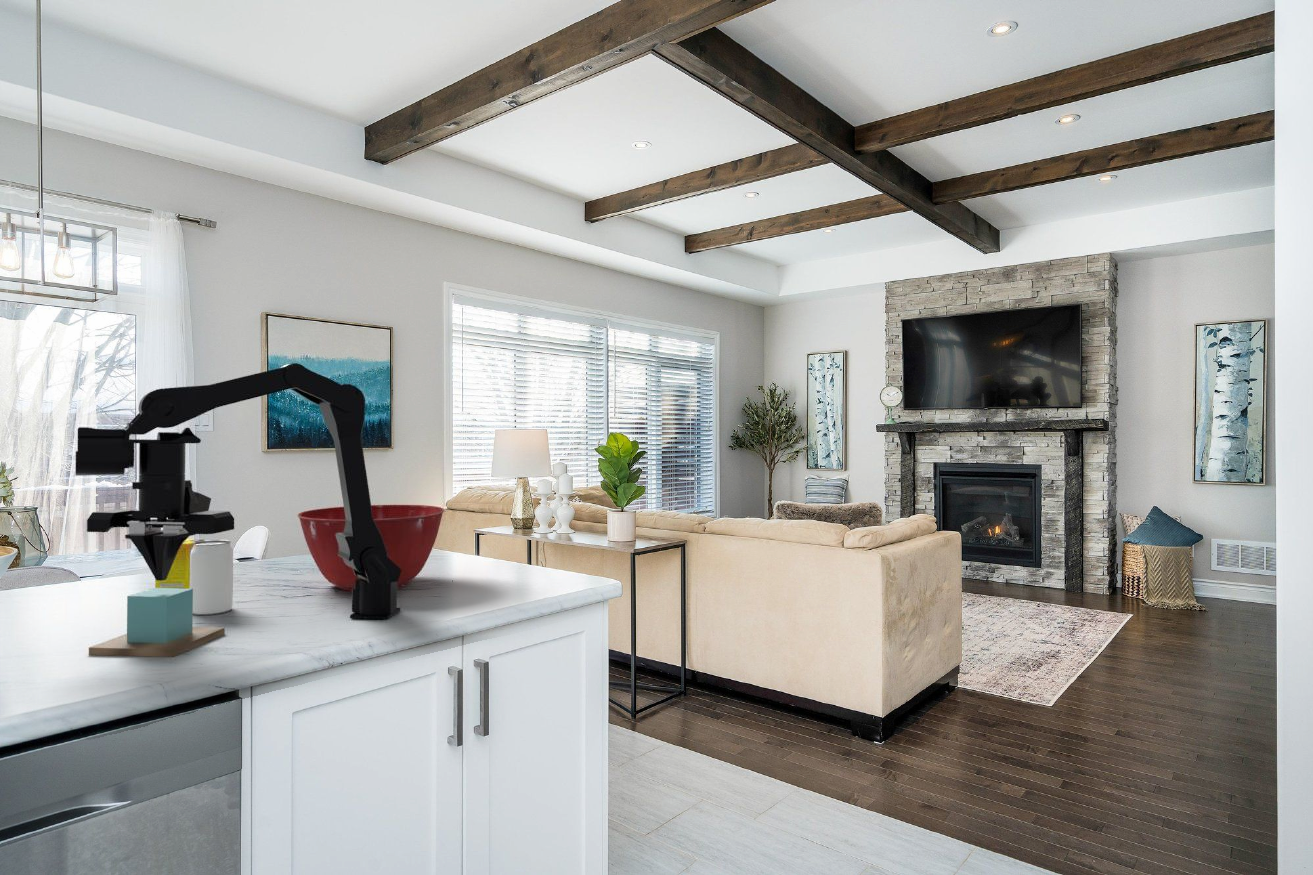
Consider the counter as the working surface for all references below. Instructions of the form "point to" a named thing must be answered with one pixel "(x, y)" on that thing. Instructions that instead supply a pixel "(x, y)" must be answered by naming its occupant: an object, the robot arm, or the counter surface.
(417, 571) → the mixing bowl
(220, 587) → the can
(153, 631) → the teal cube
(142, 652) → the base board
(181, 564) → the supplement box
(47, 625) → the counter surface
